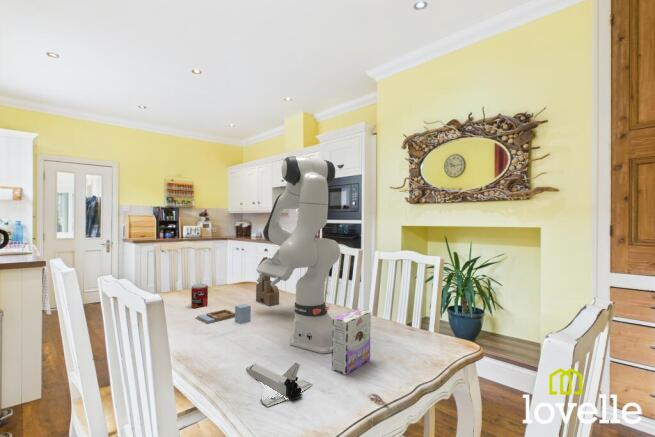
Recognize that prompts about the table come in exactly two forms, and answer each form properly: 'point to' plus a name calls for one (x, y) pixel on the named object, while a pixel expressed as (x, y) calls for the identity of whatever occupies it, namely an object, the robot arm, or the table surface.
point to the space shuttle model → (279, 383)
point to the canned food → (199, 295)
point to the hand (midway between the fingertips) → (264, 283)
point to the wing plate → (206, 318)
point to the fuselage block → (242, 313)
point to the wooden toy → (267, 291)
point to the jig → (219, 316)
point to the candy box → (350, 341)
